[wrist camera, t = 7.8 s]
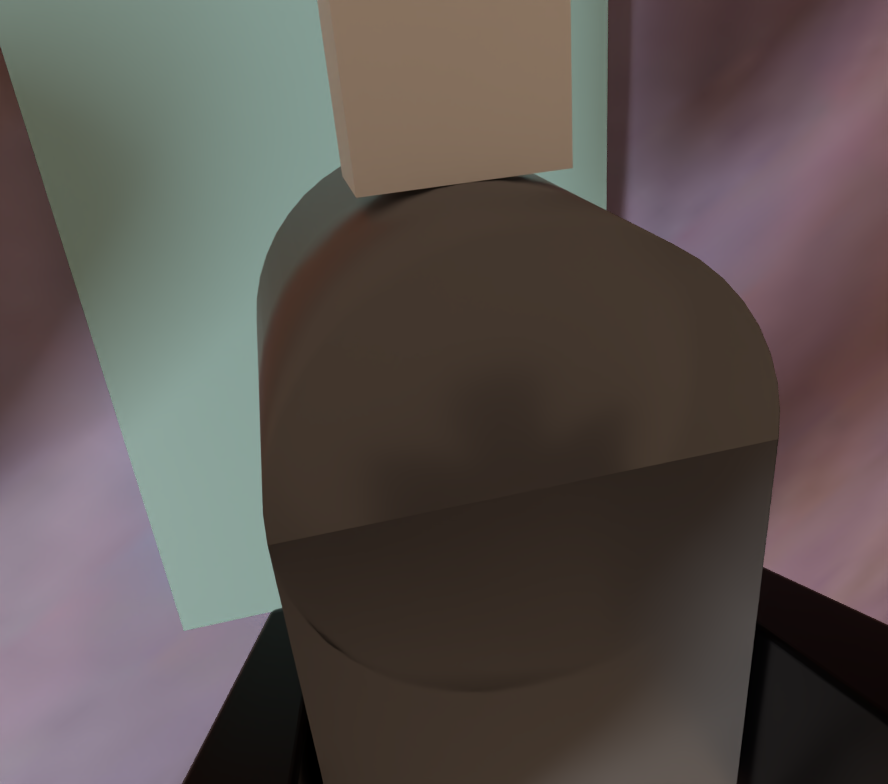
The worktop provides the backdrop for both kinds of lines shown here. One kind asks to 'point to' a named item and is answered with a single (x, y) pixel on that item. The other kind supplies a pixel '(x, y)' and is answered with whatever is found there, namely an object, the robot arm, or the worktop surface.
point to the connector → (503, 433)
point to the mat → (202, 232)
